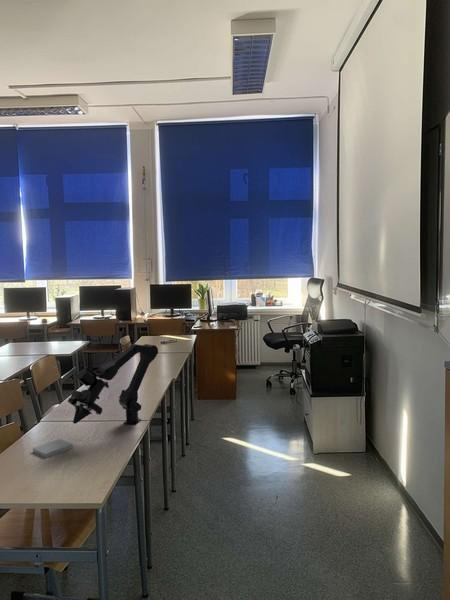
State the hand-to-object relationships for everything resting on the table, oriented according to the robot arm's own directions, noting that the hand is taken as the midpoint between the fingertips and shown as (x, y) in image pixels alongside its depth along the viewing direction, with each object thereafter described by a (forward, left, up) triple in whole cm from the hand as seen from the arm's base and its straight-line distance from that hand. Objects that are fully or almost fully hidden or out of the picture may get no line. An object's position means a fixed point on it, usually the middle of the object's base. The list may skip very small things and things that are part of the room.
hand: (74, 423), depth 194 cm
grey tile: (+4, -2, -7) cm, 9 cm away
